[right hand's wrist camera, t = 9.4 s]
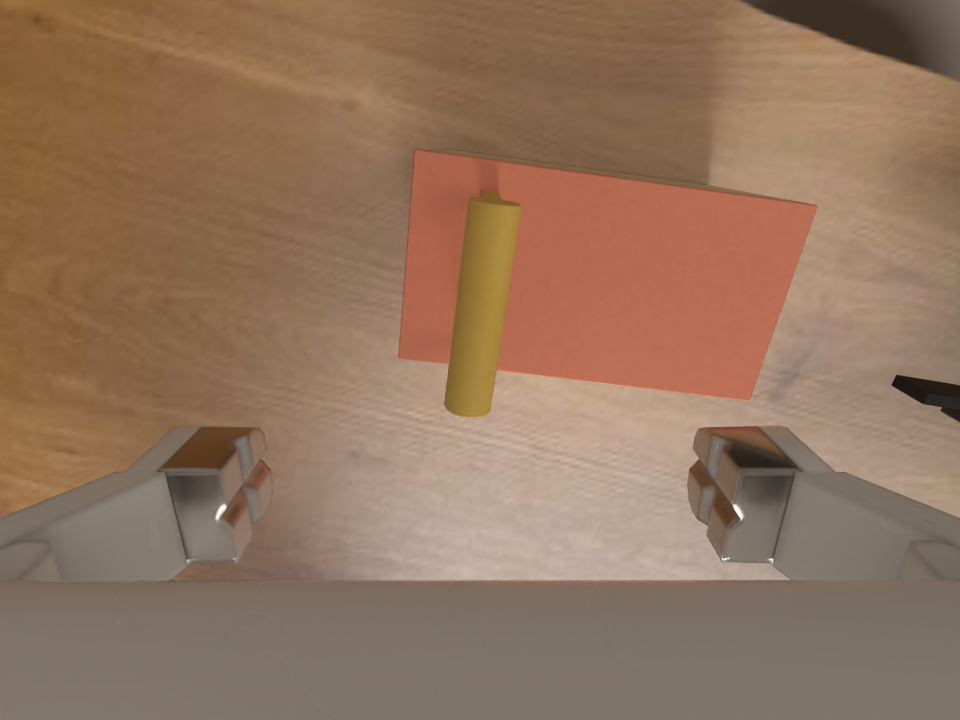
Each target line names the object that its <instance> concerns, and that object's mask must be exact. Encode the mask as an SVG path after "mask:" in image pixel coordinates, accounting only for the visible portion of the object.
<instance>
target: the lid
mask: <svg viewBox="0 0 960 720" xmlns="http://www.w3.org/2000/svg"><path fill="white" fill-rule="evenodd" d="M817 207H818V206H817V205H813V204H808V203H802V202H795V201H787V200H780V199H773V198H766V197H759V196H751V195H744V194H737V193H730V192H723V191H716V190H708V189H701V188H694V187H687V186H680V185H672V184H665V183H658V182H651V181H644V180H637V179H629V178H622V177H615V176H608V175H601V174H593V173H586V172H579V171H572V170H565V169H558V168H550V167H543V166H536V165H529V164H522V163H514V162H507V161H500V160H493V159H486V158H479V157H471V156H464V155H457V154H450V153H443V152H435V151H428V150H421V149H416V150H415V153H414V165H413V178H412V191H411V203H410V216H409V228H408V241H407V253H406V266H405V278H404V291H403V304H402V316H401V329H400V341H399V354H398V358H399V359H407V360H415V361H424V362H432V363H440V364H448V365H449V369H448V377H447V386H446V394H445V403H444V405H445V407H446V409H447V410H448V411H449V412H451V413H453V414H455V415H458V416H462V417H468V418H477V417H482V416H485V415H487V414H488V413H489V412H490V410H491V403H492V397H493V390H494V384H495V377H496V371H497V370H498V371H506V372H515V373H523V374H531V375H539V376H548V377H556V378H564V379H572V380H581V381H589V382H597V383H605V384H614V385H622V386H630V387H638V388H647V389H655V390H663V391H672V392H680V393H688V394H696V395H705V396H713V397H721V398H729V399H738V400H746V401H749V400H750V398H751V395H752V392H753V389H754V386H755V383H756V381H757V378H758V375H759V372H760V369H761V366H762V363H763V361H764V358H765V355H766V352H767V349H768V346H769V344H770V341H771V338H772V335H773V332H774V329H775V326H776V324H777V321H778V318H779V315H780V312H781V309H782V307H783V304H784V301H785V298H786V295H787V292H788V289H789V287H790V284H791V281H792V278H793V275H794V272H795V270H796V267H797V264H798V261H799V258H800V255H801V252H802V250H803V247H804V244H805V241H806V238H807V235H808V233H809V230H810V227H811V224H812V221H813V218H814V215H815V213H816V210H817Z"/></svg>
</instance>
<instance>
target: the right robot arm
mask: <svg viewBox="0 0 960 720" xmlns="http://www.w3.org/2000/svg"><path fill="white" fill-rule="evenodd" d="M266 450H267V445H266V440H265V435H264V432H263V431H262V430H261V429H260V428H259V427H213V426H207V427H205V426H180V427H173V428H172V429H171V430H170V431H169V432H168V433H167V434H166V435H165V436H164V437H162V438H161V439H160V440H159V441H158V442H157V443H156V444H155V445H154V446H153V447H151V448H150V449H149V450H148V451H147V452H146V453H145V454H144V455H143V456H142V457H140V458H139V459H138V460H137V461H136V462H135V463H134V464H133V465H132V466H131V467H129V468H128V469H127V470H126V471H125V472H114V473H112V474H109V475H107V476H104V477H102V478H99V479H97V480H94V481H92V482H89V483H87V484H84V485H82V486H79V487H77V488H74V489H72V490H69V491H67V492H64V493H62V494H59V495H57V496H54V497H52V498H49V499H47V500H44V501H42V502H39V503H37V504H34V505H32V506H29V507H27V508H24V509H22V510H19V511H17V512H14V513H12V514H9V515H7V516H4V517H2V518H0V720H960V518H958V517H955V516H953V515H950V514H948V513H945V512H943V511H940V510H938V509H935V508H933V507H930V506H928V505H925V504H923V503H920V502H918V501H915V500H913V499H910V498H908V497H905V496H903V495H900V494H898V493H895V492H893V491H891V490H888V489H886V488H883V487H881V486H878V485H876V484H873V483H871V482H868V481H866V480H863V479H861V478H858V477H856V476H853V475H851V474H848V473H846V472H835V471H834V470H833V469H832V468H831V467H830V466H828V465H827V464H826V463H825V462H824V461H823V460H822V459H821V458H820V457H819V456H817V455H816V454H815V453H814V452H813V451H812V450H811V449H810V448H809V447H808V446H807V445H805V444H804V443H803V442H802V441H801V440H800V439H799V438H798V437H797V436H796V435H794V434H793V433H792V432H791V431H790V430H789V429H788V428H786V427H783V426H761V427H758V426H746V427H705V428H700V429H698V431H697V433H696V436H695V439H694V445H693V450H694V451H695V453H696V455H697V456H698V458H699V460H698V461H697V462H696V463H695V464H694V465H693V466H692V467H691V468H690V469H689V475H688V483H687V488H688V499H689V502H690V506H691V509H692V511H693V513H694V515H695V516H696V518H697V519H698V520H699V521H701V522H703V523H704V524H706V525H707V526H708V530H707V537H708V539H709V541H710V542H711V544H712V546H713V547H714V549H715V551H716V553H717V554H718V556H719V558H720V559H721V561H722V562H742V563H772V566H773V567H775V568H776V569H777V570H779V571H780V572H781V573H783V574H784V575H785V576H787V577H788V578H789V579H791V580H625V581H168V580H169V579H171V578H172V577H173V576H175V575H176V574H177V573H179V572H180V571H182V570H183V569H184V568H186V567H187V566H188V563H217V562H238V561H239V559H240V558H241V556H242V554H243V553H244V551H245V549H246V548H247V546H248V544H249V542H250V541H251V539H252V537H253V530H252V526H253V525H254V524H256V523H257V522H259V521H261V520H262V519H263V518H264V516H265V515H266V513H267V511H268V509H269V506H270V501H271V497H272V474H271V469H270V468H269V467H268V466H267V465H266V464H265V463H264V462H263V461H262V460H261V458H262V456H263V455H264V453H265V451H266Z"/></svg>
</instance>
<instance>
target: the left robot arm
mask: <svg viewBox="0 0 960 720" xmlns="http://www.w3.org/2000/svg"><path fill="white" fill-rule="evenodd" d="M892 386H893V387H895V388H897V389H898V390H900V391H902V392H903V393H905V394H907V395H909V396H910V397H912V398H914V399H915V400H917V401H919V402H920V403H922V404H926V405H932V406H939V407H942V409H941V410H940V411H942V412H943V413H945V414H946V415H948V416H950V417H951V418H953V419H955V420H956V421H958V422H960V385H955V384H949V383H943V382H937V381H931V380H924V379H918V378H912V377H906V376H900V375H896V377H895V379H894V381H893V383H892Z"/></svg>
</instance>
